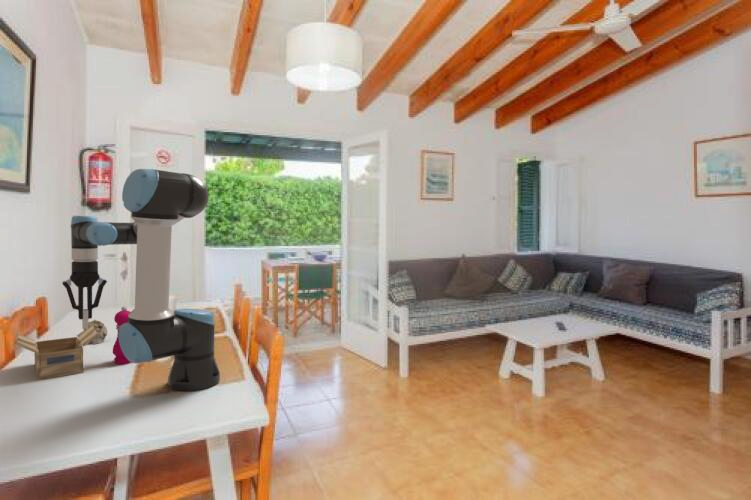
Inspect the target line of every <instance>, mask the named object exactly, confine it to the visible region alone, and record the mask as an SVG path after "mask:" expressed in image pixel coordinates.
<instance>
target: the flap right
mask: <svg viewBox="0 0 751 500" xmlns="http://www.w3.org/2000/svg"><path fill="white" fill-rule="evenodd" d="M98 336H99V334H98V333H97V332H96V330H95V329H94V328H93V326H92V325H91V326H90V327H88V329H85V330H84V329H83V331H81V332H80V333H78V334H77V335H76V337H77V338H78V340H79V342H80V344H81V345H82V347H83V348H84V347H85V346H86V345H89V343H92V340H94V339H95V338H96V337H98Z"/></svg>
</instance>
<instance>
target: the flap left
mask: <svg viewBox="0 0 751 500" xmlns="http://www.w3.org/2000/svg"><path fill="white" fill-rule="evenodd" d="M16 341H17V342H16V345H17V346H19V347H20V348H23V349H25V350H28V351H31V352H33V353H34V354H35V353H37V349H36V344H35V342H36V340H35V339H33V338H30V337H28V336H26V335H23V334H21V333H19V332H17V333H16Z"/></svg>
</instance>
